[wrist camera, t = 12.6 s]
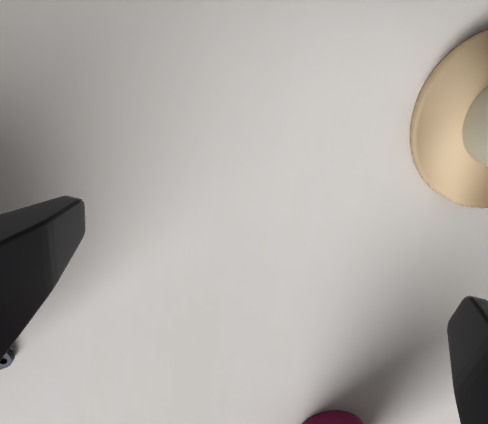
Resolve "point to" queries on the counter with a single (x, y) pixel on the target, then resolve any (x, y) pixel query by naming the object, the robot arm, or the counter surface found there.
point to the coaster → (451, 124)
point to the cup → (334, 418)
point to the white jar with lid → (477, 129)
